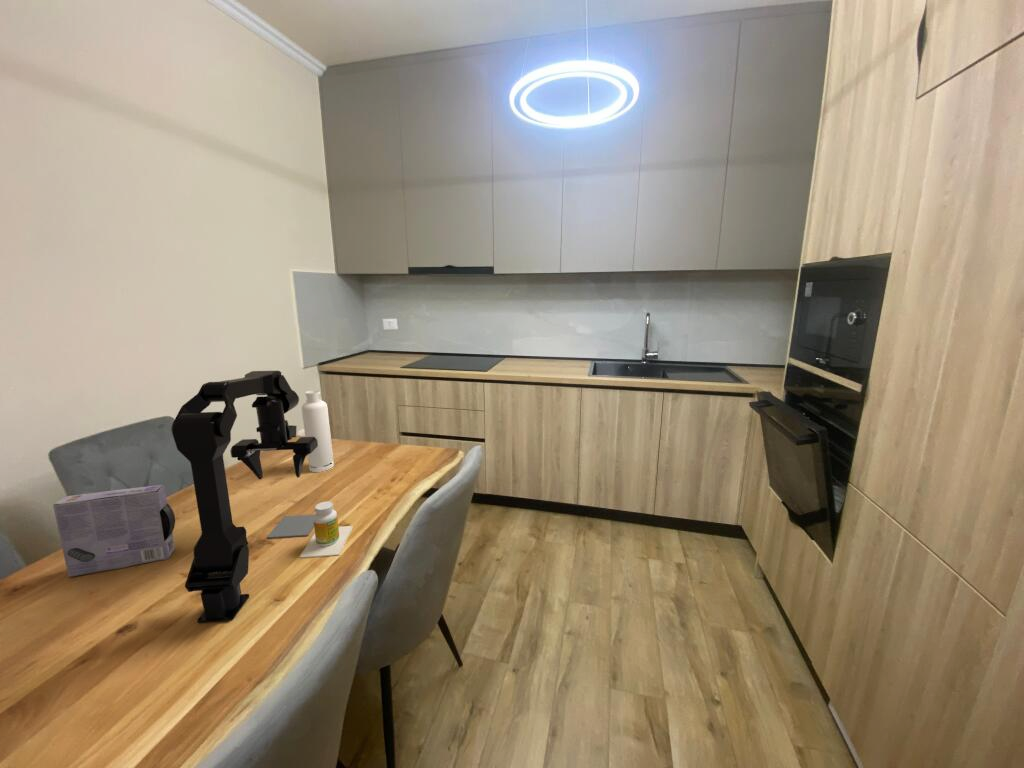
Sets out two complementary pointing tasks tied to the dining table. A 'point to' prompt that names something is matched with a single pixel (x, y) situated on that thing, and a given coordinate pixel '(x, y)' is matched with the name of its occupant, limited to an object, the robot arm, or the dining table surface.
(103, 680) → the dining table surface
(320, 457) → the bottle
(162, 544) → the cake pan box
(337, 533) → the supplement bottle
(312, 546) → the tile
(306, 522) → the slate mat
